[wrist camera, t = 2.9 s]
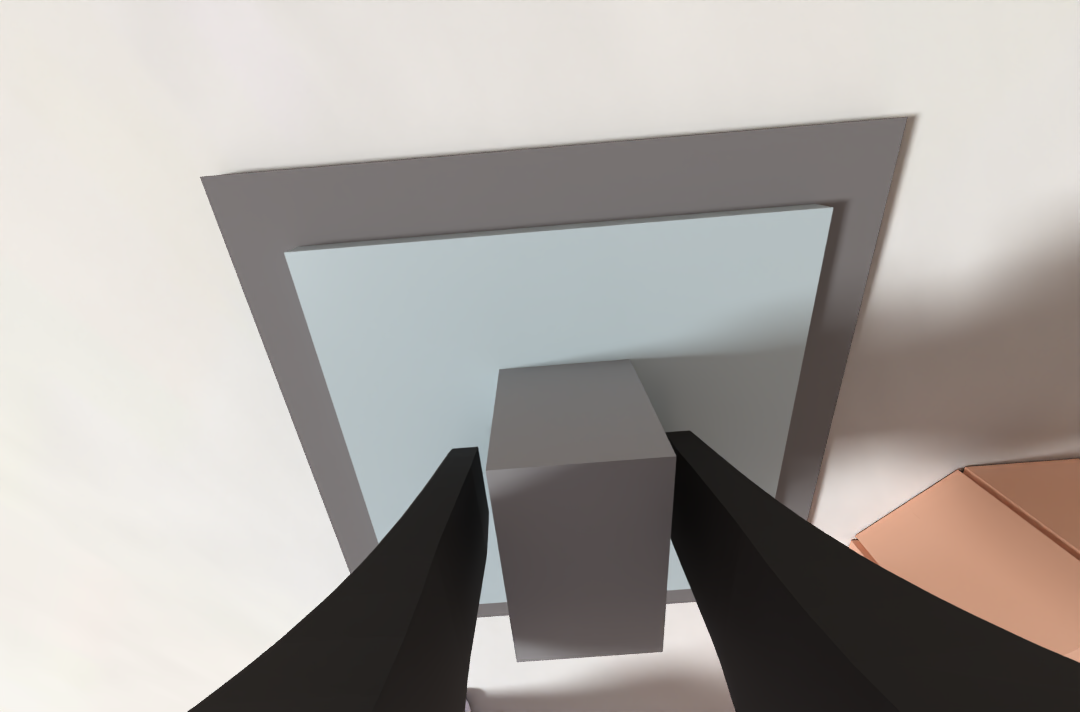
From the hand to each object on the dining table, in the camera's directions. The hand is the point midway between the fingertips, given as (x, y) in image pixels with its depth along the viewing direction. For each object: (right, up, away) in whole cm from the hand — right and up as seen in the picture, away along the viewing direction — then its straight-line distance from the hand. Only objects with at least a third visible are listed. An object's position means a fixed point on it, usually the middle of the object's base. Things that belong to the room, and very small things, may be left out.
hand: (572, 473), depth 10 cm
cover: (0, +1, +1) cm, 1 cm away
